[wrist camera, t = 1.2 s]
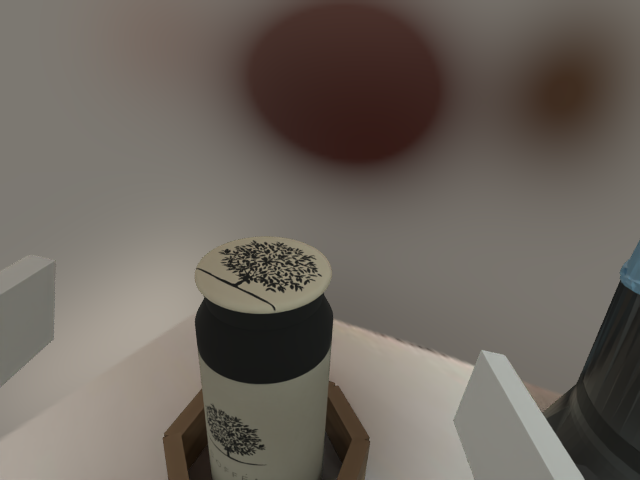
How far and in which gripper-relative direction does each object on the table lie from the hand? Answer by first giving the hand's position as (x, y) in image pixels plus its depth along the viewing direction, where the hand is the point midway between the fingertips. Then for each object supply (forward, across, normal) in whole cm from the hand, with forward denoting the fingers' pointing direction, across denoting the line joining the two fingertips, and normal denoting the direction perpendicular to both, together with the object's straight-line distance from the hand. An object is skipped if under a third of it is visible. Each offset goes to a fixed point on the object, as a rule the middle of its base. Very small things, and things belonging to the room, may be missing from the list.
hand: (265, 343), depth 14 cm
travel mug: (+14, +2, -20) cm, 24 cm away
